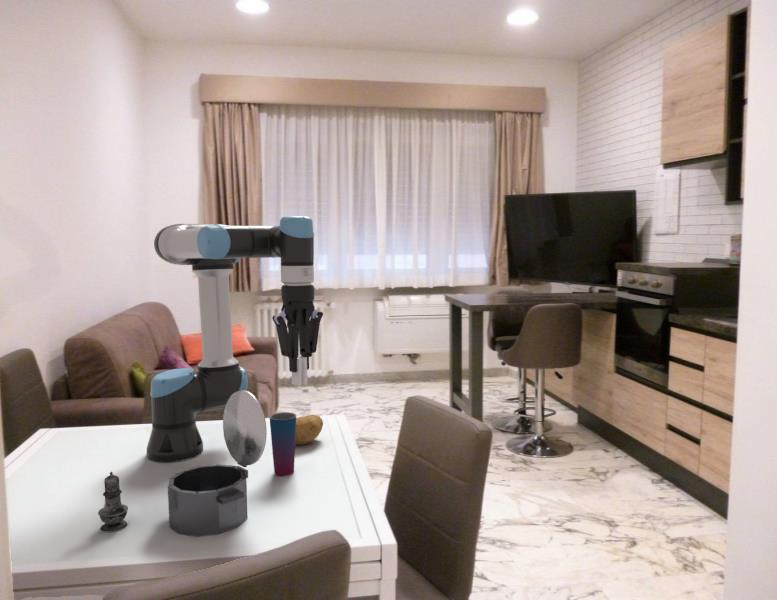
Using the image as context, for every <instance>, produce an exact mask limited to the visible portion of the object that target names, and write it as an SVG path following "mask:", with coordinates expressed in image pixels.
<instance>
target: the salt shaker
mask: <svg viewBox="0 0 777 600" xmlns="http://www.w3.org/2000/svg"><path fill="white" fill-rule="evenodd" d="M109 474H110V475H108V476H106V477H105V478H104V482H103V484H104V492H103V493H102V496H103V497H104V506H103V507H102V508H100V509H99V510H98V512H97V515H98V516H99V519H100V520H101V522H102V523H104V524H102V525H101V526H100V528H99V529H100V531H101V532H103V533H114V532H118V531H121V530H124V529H125V528H126V527H127V526H128V525H129V524H128V521H127V520H124V519H125V518H126V516H127V514H128V510H129V506H128V505H126V504H122V500H121V494H122V493H123V491H122V490H121V489H120V485H121V484H120V478H119V477H120V476H118V475H115V474H114V473H113V472H112V471H110V472H109Z"/></svg>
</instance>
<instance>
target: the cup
mask: <svg viewBox="0 0 777 600" xmlns="http://www.w3.org/2000/svg"><path fill="white" fill-rule="evenodd" d="M296 418H297V414H296V413H293V412H285V411H284V412H281V411H280V412H276V413H273V414H270V415H269V429H270V437H271V448H272V449H271V450H272V460H273V472H274V474H275V476H280V477H286V476H287V477H288V476H291V475H293V474H294V472H295V457H296V456H295V453H296V444H295V435H296Z"/></svg>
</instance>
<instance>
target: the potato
mask: <svg viewBox="0 0 777 600" xmlns="http://www.w3.org/2000/svg"><path fill="white" fill-rule="evenodd" d="M323 426H324V420H323V419H322V418H321V416H320V415H315V414H307V415H304V416H298V417H296V435H295V445H301V446H302V445H307V444H310V443H312V442H313V441H314V440H316V439H317V437H319V435H320V434H321V432H322V429H323Z"/></svg>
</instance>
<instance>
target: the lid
mask: <svg viewBox="0 0 777 600" xmlns="http://www.w3.org/2000/svg"><path fill="white" fill-rule="evenodd" d="M222 416H223V418H222V430H223V431H222V432H223V438H224V441H225V445H226V448H227V450H228V452H229V455H230V456H231V458H233V460H234V461H235V462H236V465H237V466H240V467H242V468H248V466H251V465H255V464H256V463H257V462H258V461H260V459H261V457H262V455H263V453H264V450H265V447H266V443H267V433H268V432H267V423H266V422H267V421H266V417H265V413H264V410H263V407H262V405H261V403H260V401H259V400H258V398H257V396H255V395H254V393H252V392H250V391H249V390H247V391H237V392H235V393H233V394H232V395H231V397H230V398H229V399H228V401H227V403H226V406H225V408H224V411H223V415H222Z"/></svg>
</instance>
